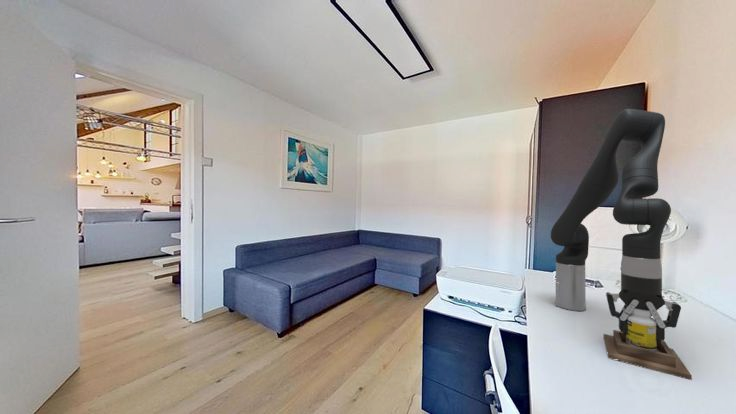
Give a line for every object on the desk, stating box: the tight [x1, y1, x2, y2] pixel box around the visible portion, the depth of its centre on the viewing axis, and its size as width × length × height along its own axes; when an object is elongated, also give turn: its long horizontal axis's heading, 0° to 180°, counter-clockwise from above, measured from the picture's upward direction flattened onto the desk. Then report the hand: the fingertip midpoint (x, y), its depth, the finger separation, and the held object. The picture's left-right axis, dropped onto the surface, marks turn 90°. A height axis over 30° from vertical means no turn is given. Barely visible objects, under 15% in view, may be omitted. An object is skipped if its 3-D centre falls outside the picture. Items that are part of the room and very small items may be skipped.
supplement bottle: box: [626, 308, 657, 351], centre depth 70 cm, size 6×6×10 cm
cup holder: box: [603, 329, 693, 381], centre depth 70 cm, size 14×14×4 cm
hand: (640, 336), depth 70 cm, fingers closed on supplement bottle, 5 cm apart
